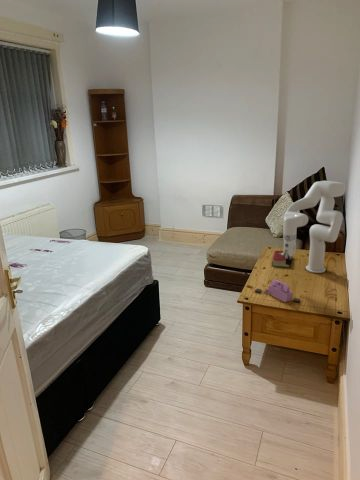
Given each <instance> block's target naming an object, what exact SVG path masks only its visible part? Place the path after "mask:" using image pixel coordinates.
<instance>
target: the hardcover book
mask: <svg viewBox="0 0 360 480" xmlns="http://www.w3.org/2000/svg"><path fill="white" fill-rule="evenodd" d="M271 266H272V267H276V268H286V269H287V268H289V269H290V268H291V265H286V258H285V256H284V255H283V250H277V249H274V252H273V257H272V261H271Z"/></svg>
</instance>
